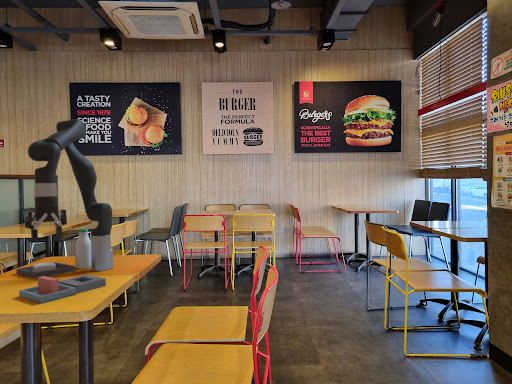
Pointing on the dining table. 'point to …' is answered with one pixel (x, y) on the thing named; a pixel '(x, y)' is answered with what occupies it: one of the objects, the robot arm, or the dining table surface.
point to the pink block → (47, 285)
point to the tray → (41, 298)
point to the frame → (28, 271)
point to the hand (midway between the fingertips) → (47, 238)
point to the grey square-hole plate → (84, 282)
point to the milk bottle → (83, 250)
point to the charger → (44, 267)
